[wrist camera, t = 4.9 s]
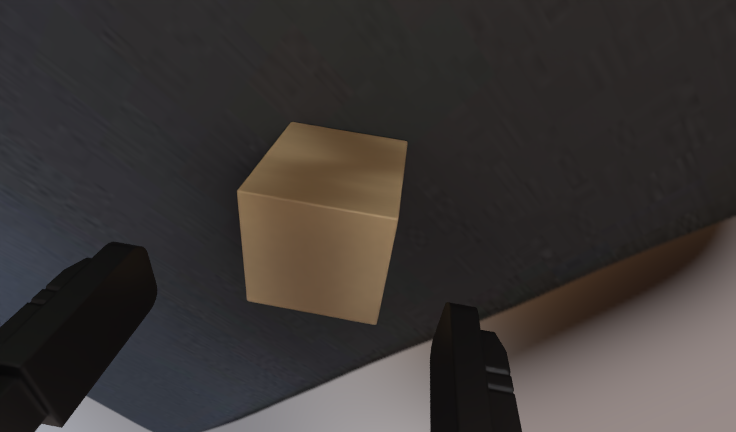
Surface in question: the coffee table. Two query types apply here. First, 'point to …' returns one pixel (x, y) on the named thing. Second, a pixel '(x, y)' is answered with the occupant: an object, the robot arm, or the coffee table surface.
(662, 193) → the coffee table surface
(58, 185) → the coffee table surface
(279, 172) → the block
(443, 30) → the coffee table surface
